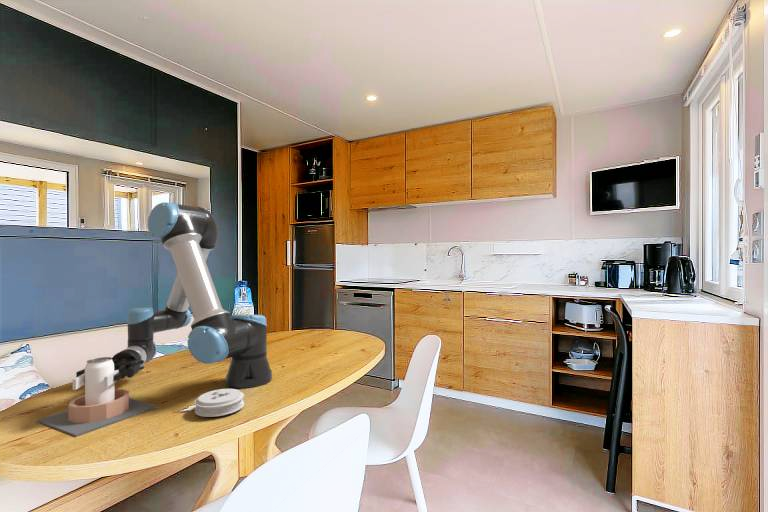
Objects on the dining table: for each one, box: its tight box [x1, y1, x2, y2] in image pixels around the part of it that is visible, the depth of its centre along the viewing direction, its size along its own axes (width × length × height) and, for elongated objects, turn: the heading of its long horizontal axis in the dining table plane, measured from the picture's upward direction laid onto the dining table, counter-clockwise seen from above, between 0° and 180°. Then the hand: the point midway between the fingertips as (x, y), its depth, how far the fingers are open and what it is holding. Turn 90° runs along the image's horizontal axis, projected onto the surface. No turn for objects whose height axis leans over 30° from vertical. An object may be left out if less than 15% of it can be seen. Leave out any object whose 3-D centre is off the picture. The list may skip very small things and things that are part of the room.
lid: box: [194, 388, 245, 418], centre depth 104 cm, size 13×13×5 cm
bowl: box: [67, 389, 130, 423], centre depth 103 cm, size 13×13×4 cm
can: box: [84, 356, 116, 406], centre depth 103 cm, size 6×6×12 cm
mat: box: [35, 397, 160, 437], centre depth 103 cm, size 20×20×1 cm
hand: (90, 383), depth 98 cm, fingers open, 6 cm apart
